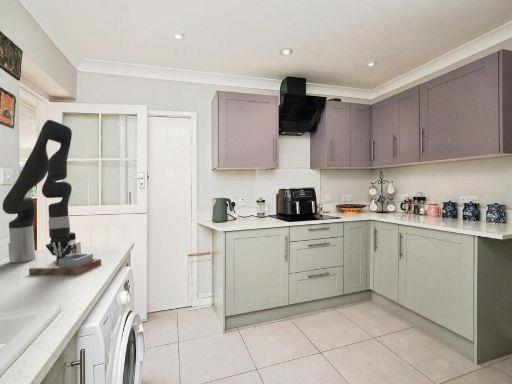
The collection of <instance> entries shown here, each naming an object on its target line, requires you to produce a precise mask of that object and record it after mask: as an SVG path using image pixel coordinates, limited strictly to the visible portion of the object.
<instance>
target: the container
mask: <svg viewBox="0 0 512 384" xmlns="http://www.w3.org/2000/svg"><path fill="white" fill-rule="evenodd" d="M76 238H77V237H76V232H72V231H70V236H69V239H70V242H71V243H72V244H75V246H74V248H73V249H72V251H71V252H70V254H68V255H66V256H69V255H72V254H82V248H81V247H82V246H81V241H76V240H77V239H76ZM66 256H65V257H66ZM56 259H57V257H56V256H55V260H56Z"/></svg>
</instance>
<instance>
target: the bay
mask: <svg viewBox="0 0 512 384" xmlns="http://www.w3.org/2000/svg"><path fill="white" fill-rule="evenodd" d="M55 264H58V263H57V259H56V258H55ZM101 265H102V259H101V258H93V261H92V262H89V263H87V264H85V265H82V266H80V267H78V268H59V267H29V268H28V276H29V275H31V276H32V275H33V276H35V275H36V276H78V275H81V274H83V273H85V272H87V271H89V270H92V269H93V268H96V267H98V266H101Z"/></svg>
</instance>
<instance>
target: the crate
mask: <svg viewBox="0 0 512 384" xmlns="http://www.w3.org/2000/svg"><path fill="white" fill-rule="evenodd" d="M93 256H94V255H93V253H81V254H72V255H69V256H66V257H64V258H61V259H58V263H59V265H58V268H78V267H80V266H82V265H85V264H87V263H89V262H92V261H93V259H94V258H93Z"/></svg>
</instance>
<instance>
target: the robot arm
mask: <svg viewBox="0 0 512 384" xmlns="http://www.w3.org/2000/svg"><path fill="white" fill-rule="evenodd" d="M72 131H73V130H72V128H71V127H70V126H68V125H65V124H63V123H60V122H57V121H55V120H54V119H53V120H52V119H48V120H46V121H45V122H44V124H43V125H42V127H41V130H40V132H39V134H38V137H37V140H36V142H35V144H34V146H33V149H32V151H31V152H30V154H29V156H28V157H27V160H26V161H25V163H24V165H23V167H22V169H21V171H20V173H19V175H18V177H17V179H16V181H15V182H14V184H13V186H12V187H11V189H10V190H9V191H8V193H7V194H6V196H5V198H4V199H3V201H2V210H3V212H4V213H6V214H8V215H17V216H16V217H15V218H14V219H13V220H10V221H9V222H8V232H9V233H8V234H9V242H8V257H9V263H10V262H11V263H14V264H15V263H17V264H19V263H25V262H29V261H33V260H35V259H36V252H35V251H36V250H35V249H36V248H35V236H34V235H35V234H34V221H35V216H36V215H35V214H36V213H35V211H36V210H35V209H36V208H35V201H34V199H33V197H32V196H31V195H28V193H29V192H30V190H32V189H33V188H35V186H37V185H38V184H39V183H41V181H43V180H44V178H45V180H44V183H43V185H42V186H41V187H42V188H41V194H42V195H43V197H45V198H46V199H57V198H58V199H59V198H61V200H60V201H58V202H53V203H50V204H49V205H48V206H47V208H48V233H49V234H48V236H49V239H50V241H49V243H47V244H46V245H45V247H46V248H47V250H48V251H49V252H50V254H51V255H52V256H55V258H56V257H57V263H58V259H61V258H64V257H65V256H66V255H68V254H70V252H71V251H72V249H73V248H74V246H75V244H72V243H71V242H70V239H69V236H70V232H71V228H70V227H71V226H70V218H69V200H70V198H71V194H72V189H73V188H72V184H70V182H68V181H63V180H66V178H67V176H68V157H69V152H70V147H71V143H72V142H71V141H72V136H73V132H72ZM49 141H53V142H56V143H59V144H60V147H59V148H58V150H57V151H56V152H54V154H52V155H51V156H50V158H49V155H48V150H47V144H48V143H49ZM57 266H59V263H58V265H57Z"/></svg>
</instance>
